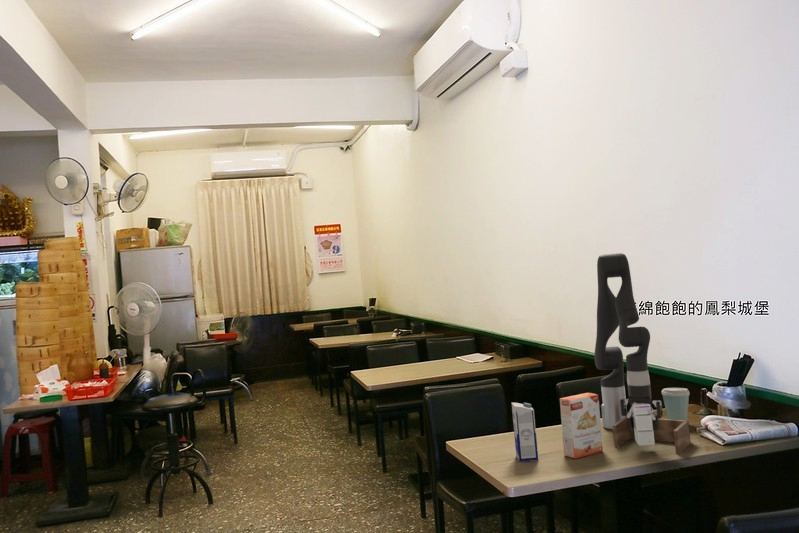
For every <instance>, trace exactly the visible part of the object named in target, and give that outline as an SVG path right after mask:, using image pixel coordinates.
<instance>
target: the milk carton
mask: <svg viewBox="0 0 799 533" xmlns="http://www.w3.org/2000/svg"><path fill="white" fill-rule="evenodd" d="M511 412H512V422H513V423H512V424H513V432H514V434H513V435H514V443H515V444H514V446H515V454H516V458H517V460H518V459H519V460H518V461H524V462H531V461H530V460H537V461H539V452H538V441H537V431H536V419H535V418H536V417H535V410H534V408H533V407H532V403H528V402H523V403H519V402H511Z"/></svg>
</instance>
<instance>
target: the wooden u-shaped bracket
mask: <svg viewBox="0 0 799 533" xmlns="http://www.w3.org/2000/svg"><path fill="white" fill-rule="evenodd" d="M632 417H633V415H632ZM652 420H653V419H652ZM653 432H654V441H659V440H661V442H671V443H674V448H675V451H674V452H675V455H680V454H682V452H684V451H685V449H686V448H687V447H688V446H689V445H690V444H691V432H690V422H689V420H687V421H684V420H671V419H668V418H660V419H658V428H657V430H656V431H654V430H653ZM612 433H613V443H614V448H619V447H621V444H622V443H623V442H624V443H626V442H627V441H628V440H630V439H635V433H634V428H633V429H631V428H630V427H629V426H628V420H627V417H624V418H623V419H621V420H620V421H618V422H617V423H615V424H614V425H613V429H612ZM630 437H632V438H630ZM629 438H630V439H629ZM626 440H627V441H626ZM625 441H626V442H625ZM624 443H623V444H624ZM623 444H622V445H623ZM618 446H619V447H618Z"/></svg>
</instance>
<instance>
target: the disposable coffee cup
mask: <svg viewBox="0 0 799 533" xmlns="http://www.w3.org/2000/svg"><path fill="white" fill-rule="evenodd" d="M661 395H662V399H663V404H664V407H665V408H664V409H665V413H666V419H671V420H684V421H688V411H689V399H690V398H689V397H690V395H691V394H690V391H689V389H688V388H684V387H666V388H662V390H661Z"/></svg>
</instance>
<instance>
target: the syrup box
mask: <svg viewBox="0 0 799 533" xmlns="http://www.w3.org/2000/svg"><path fill="white" fill-rule="evenodd" d="M632 405H633V413H632V416H633V424H634V433H635V438H634V440H635V442H636V444H637V445H638V446H655V444H656V442H655V441H656V440H654V432H653V425H652V418H651V414H650V415H648V409H649V410H650V411H651V407H652V406H651V407H650V404H645V405H644V404H641V403H637V404H634V403H633V404H632ZM647 408H648V409H647Z"/></svg>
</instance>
